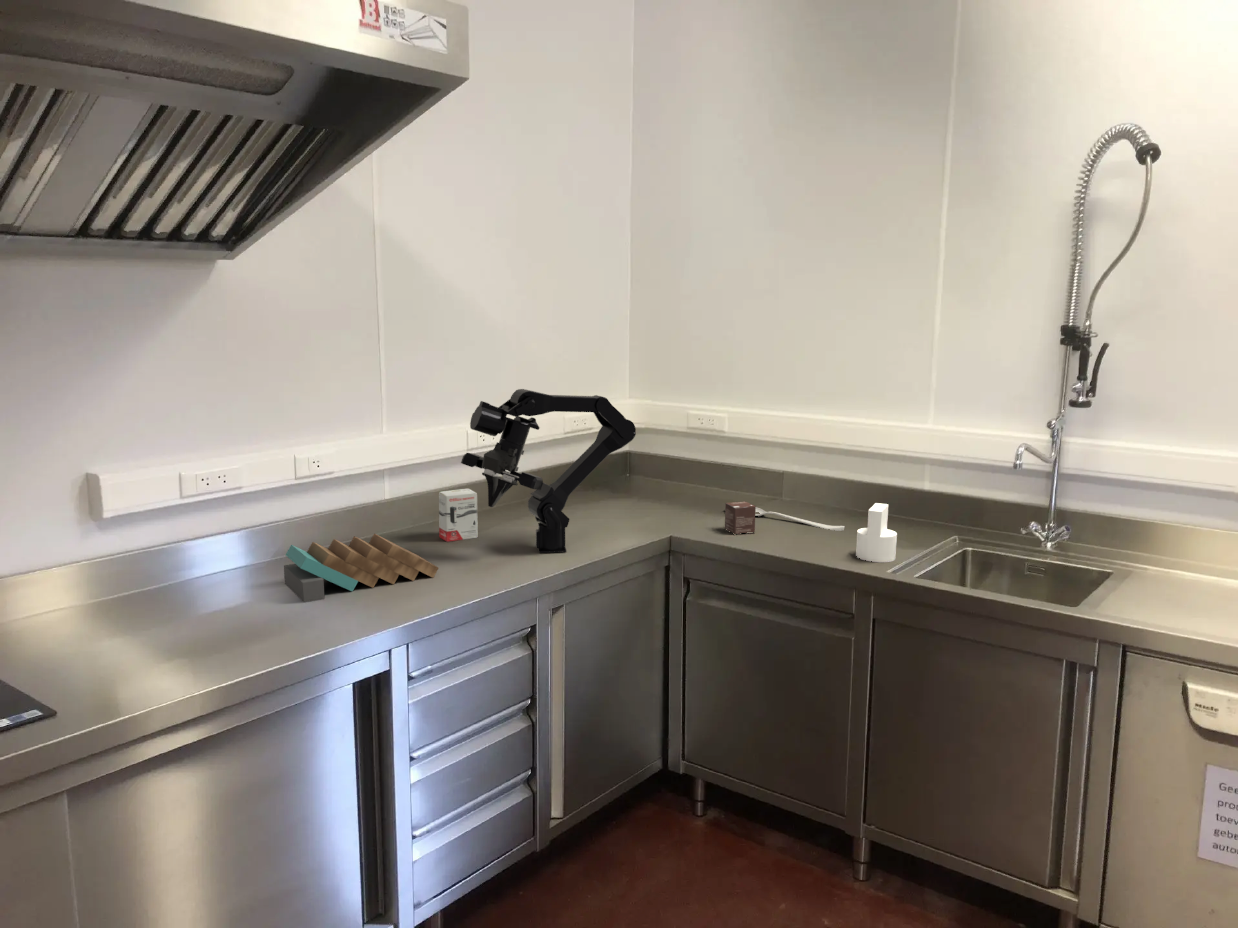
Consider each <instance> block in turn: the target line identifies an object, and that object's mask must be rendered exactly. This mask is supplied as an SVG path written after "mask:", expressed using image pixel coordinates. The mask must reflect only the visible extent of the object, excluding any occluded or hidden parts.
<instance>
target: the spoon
mask: <svg viewBox="0 0 1238 928" xmlns="http://www.w3.org/2000/svg"><path fill="white" fill-rule="evenodd" d="M756 512H759V513H760V514H755V516H758V517H761V516H764V515H775V516H778V517H782V518H784V519H789V520H792V521H795V522H799V523H801V524H802V523H803V524H805V525H809V526H813V527H815V528H819V527H820V529H823V528H824V530H828V529H830V530H829V531H834V530H835V531H836V532H843V531H844V530H845V525H829V524H823V523H818V522H814V521H810V520H807V519H802V518H799V517H795V516H792V515H791V516H790V515H788V514H783V513H780V512H775V511H765V510H764V509H762V508H760V507H757V506H756ZM835 531H834V532H835Z"/></svg>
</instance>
